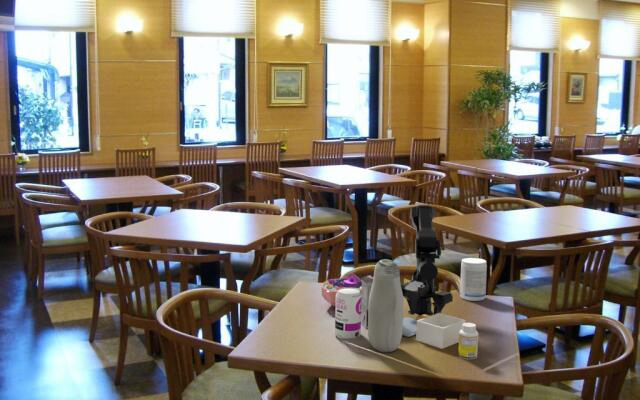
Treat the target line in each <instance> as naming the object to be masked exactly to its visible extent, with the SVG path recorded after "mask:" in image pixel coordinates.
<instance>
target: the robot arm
mask: <svg viewBox="0 0 640 400" xmlns="http://www.w3.org/2000/svg"><path fill="white" fill-rule="evenodd" d="M435 210H436V208H435V207H432V205H429V204H418V205H416V206H415V205H413V206H412V207H411V208H410V212H409V213H410V214H409V215H410V216H409V217H410V218H409V219H411V223H412V224H411V226H413V228H414V229H415V231H416V234H415V235H416V236H415V237H416V238H415V240H414V243H415V244H414V247H415V250H414V251H415V252H414V253H415V258H416V261H415V263H416V265H415V270H414V271H413V274H412V275H411V276H412V277H411V279H410V281H409V282H408V281H407V282H405V283H400V284H401V289H402V293H403V298H405V300H406V301H407V304H408V308H409V310H408V311H407V312H408V313H409V314H411V315H413V316H414V315H415V314H416V315H418V316H421V315H424V314H426V315H432V314H433V315H434V314H437V313H442V311H443V309H444V308H445V307H446V305H447V304H450V303H451V302H453V298H454V296H453V294H452V293H451V292H448V291H445V290H441V291H438V292H436V291H437V285H436V283H435V279H437V278H438V277H437V276H438V274H439V270H438V267H437V265H436V259H437V260H439V259H440V258H441V257H440V256H442V244H441V241H440V239H439V238H438V235H437V232H436V231H434V229H433V224H432V223H433V220H434V219H435V217H436V215H435V214H436V213H435V212H436V211H435ZM432 301H433V302H432ZM432 305H433V306H432ZM432 307H433V310H432Z"/></svg>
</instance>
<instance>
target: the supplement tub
mask: <svg viewBox="0 0 640 400" xmlns="http://www.w3.org/2000/svg"><path fill="white" fill-rule="evenodd" d="M460 264H461V265H460V288H459V290H460V292H459V297H460V298H461V299H463V300H465V301H470V302H478V301H483V300H485V299H486V297H487V295H486V293H487V291H486V290H487V273H488V272H487V270H488V269H487V268H488V265H487V260H485V259H483V258H478V257H466V258H465V257H464V258H462V259H461V263H460Z"/></svg>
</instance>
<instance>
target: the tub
mask: <svg viewBox="0 0 640 400" xmlns="http://www.w3.org/2000/svg"><path fill="white" fill-rule="evenodd" d="M466 321H467V320H466V319H463V318H459V317H456V316H453V315H449V314H446V313H442V312H441V313H437V314H434V313H433V314H430V315H429V316H428V317H426V318H423V319H420V320H417V326H416V334H415V341H417V342H419V343H423V344H426V345H430V346H431V347H435V348H438V349H441V350H442V349H445V348H448V347H451V346H453V345H455V344H457V343H458V344H459V331H460V330H461V329H462V324H463V323H466Z"/></svg>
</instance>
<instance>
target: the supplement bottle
mask: <svg viewBox="0 0 640 400" xmlns="http://www.w3.org/2000/svg"><path fill="white" fill-rule="evenodd" d="M478 344H479V332H478V331H477V325H476V324H475V323H473V322H465V323H463V324H462V329H461V330H460V331H459V342H458V350H457V351H458V353H457V356H458V357H459V358H460V359H464V360H474V359H475V360H476V359H477V358H478V352H479V351H478V348H479V347H478V346H479V345H478Z"/></svg>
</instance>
